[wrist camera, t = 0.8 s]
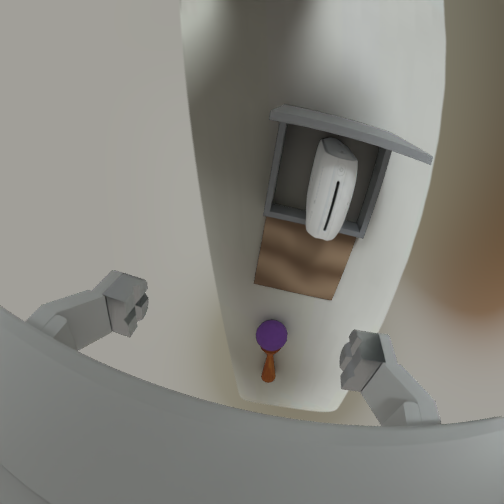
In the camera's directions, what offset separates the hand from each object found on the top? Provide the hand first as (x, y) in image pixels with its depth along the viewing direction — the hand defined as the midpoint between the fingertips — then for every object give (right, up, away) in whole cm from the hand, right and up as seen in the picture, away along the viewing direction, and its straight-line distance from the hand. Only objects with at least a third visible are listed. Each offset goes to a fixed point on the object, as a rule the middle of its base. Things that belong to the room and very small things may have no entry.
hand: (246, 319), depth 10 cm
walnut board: (+8, +1, +35) cm, 36 cm away
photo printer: (+10, +14, +27) cm, 32 cm away
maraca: (+4, -18, +48) cm, 52 cm away
